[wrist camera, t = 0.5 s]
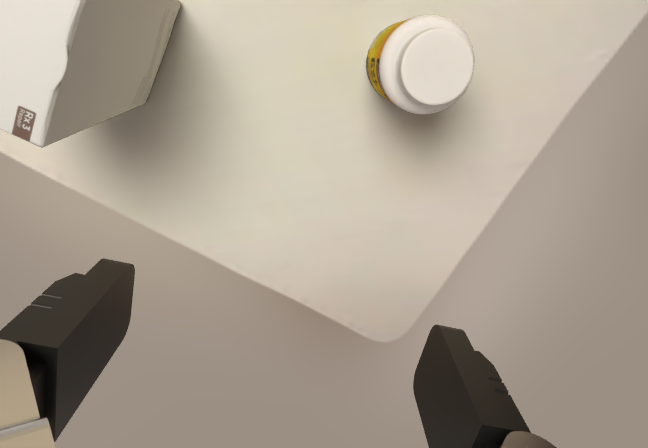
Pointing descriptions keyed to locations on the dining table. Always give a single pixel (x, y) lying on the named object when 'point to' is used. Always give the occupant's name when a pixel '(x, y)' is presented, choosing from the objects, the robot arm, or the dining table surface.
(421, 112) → the supplement bottle
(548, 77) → the dining table surface
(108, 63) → the skincare box
